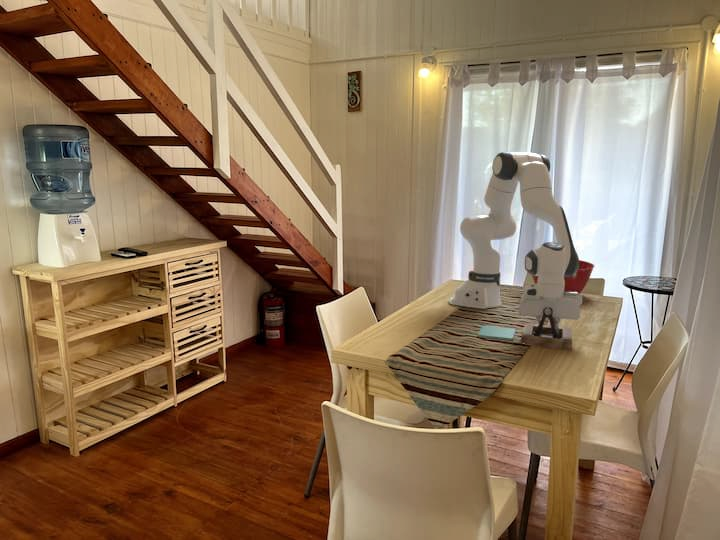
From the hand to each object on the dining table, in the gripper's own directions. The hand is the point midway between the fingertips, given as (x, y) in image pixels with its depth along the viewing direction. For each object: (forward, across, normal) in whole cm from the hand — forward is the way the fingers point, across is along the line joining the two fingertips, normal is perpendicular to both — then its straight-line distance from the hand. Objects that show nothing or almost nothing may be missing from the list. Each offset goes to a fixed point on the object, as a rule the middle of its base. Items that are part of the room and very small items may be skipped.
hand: (547, 329), depth 188 cm
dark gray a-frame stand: (+4, 0, 0) cm, 4 cm away
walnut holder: (+4, 0, 0) cm, 4 cm away
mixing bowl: (+4, -3, -70) cm, 70 cm away
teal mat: (+4, +17, 0) cm, 17 cm away
